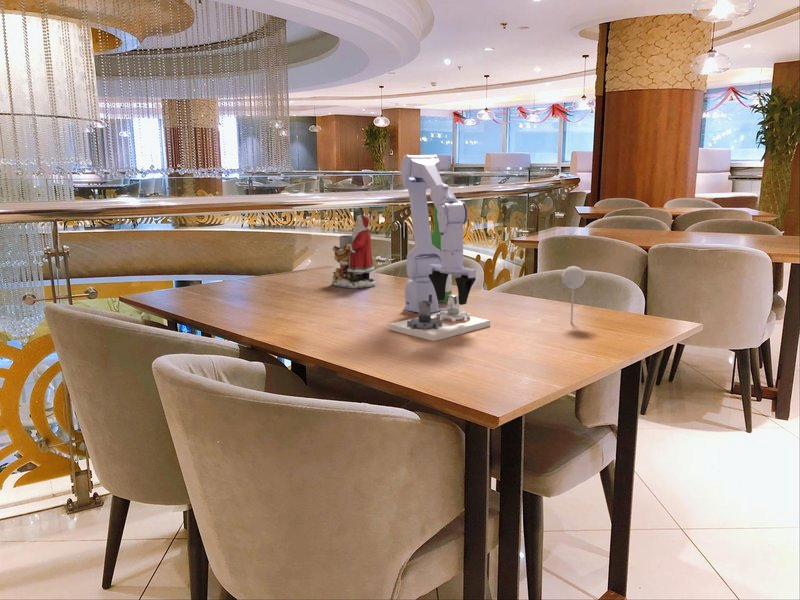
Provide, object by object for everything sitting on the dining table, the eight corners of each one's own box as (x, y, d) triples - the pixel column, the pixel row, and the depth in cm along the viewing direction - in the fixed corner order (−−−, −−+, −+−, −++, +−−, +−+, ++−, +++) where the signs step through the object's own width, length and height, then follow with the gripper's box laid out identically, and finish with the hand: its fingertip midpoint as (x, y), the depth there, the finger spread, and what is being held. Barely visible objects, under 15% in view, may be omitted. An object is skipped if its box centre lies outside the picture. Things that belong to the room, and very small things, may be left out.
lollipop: (566, 326, 166) (568, 268, 163) (555, 321, 172) (557, 265, 169) (587, 324, 168) (590, 267, 165) (576, 319, 174) (578, 264, 171)
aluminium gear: (429, 318, 170) (429, 295, 169) (452, 312, 176) (452, 291, 174) (453, 323, 163) (453, 300, 162) (477, 318, 169) (477, 295, 168)
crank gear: (399, 325, 163) (399, 293, 161) (424, 320, 168) (424, 289, 167) (424, 332, 156) (424, 298, 155) (449, 325, 162) (449, 293, 161)
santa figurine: (325, 283, 233) (323, 213, 228) (360, 279, 240) (360, 212, 234) (343, 291, 219) (342, 217, 213) (381, 287, 225) (380, 215, 220)
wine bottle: (451, 298, 204) (452, 201, 198) (451, 303, 196) (451, 203, 190) (427, 298, 204) (426, 202, 198) (425, 303, 197) (425, 203, 191)
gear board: (388, 329, 165) (388, 323, 165) (444, 316, 179) (444, 310, 179) (433, 341, 154) (433, 334, 153) (490, 325, 168) (490, 319, 167)
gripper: (420, 249, 168) (421, 300, 171) (462, 254, 158) (462, 308, 160) (439, 246, 173) (439, 296, 175) (481, 251, 162) (480, 304, 165)
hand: (451, 302), depth 168 cm, fingers open, 7 cm apart
